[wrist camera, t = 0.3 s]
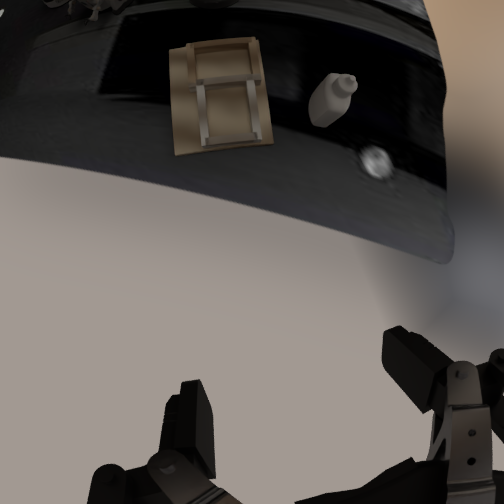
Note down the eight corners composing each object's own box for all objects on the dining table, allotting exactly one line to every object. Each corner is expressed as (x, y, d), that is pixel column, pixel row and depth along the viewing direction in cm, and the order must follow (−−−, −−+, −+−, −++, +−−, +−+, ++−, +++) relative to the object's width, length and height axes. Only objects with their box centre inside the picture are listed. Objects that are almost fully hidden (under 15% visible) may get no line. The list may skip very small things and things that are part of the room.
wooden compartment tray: (170, 53, 32) (166, 43, 29) (257, 43, 33) (259, 33, 30) (176, 156, 35) (172, 152, 32) (272, 144, 36) (276, 140, 33)
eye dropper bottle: (296, 115, 35) (324, 82, 24) (315, 88, 35) (346, 51, 23) (322, 132, 36) (358, 107, 24) (340, 105, 36) (378, 75, 24)
